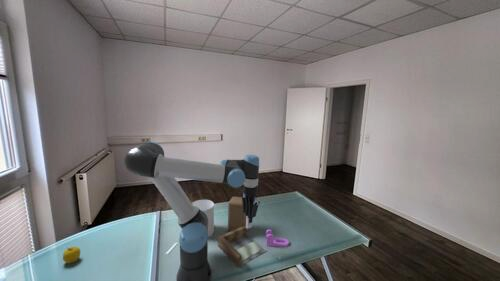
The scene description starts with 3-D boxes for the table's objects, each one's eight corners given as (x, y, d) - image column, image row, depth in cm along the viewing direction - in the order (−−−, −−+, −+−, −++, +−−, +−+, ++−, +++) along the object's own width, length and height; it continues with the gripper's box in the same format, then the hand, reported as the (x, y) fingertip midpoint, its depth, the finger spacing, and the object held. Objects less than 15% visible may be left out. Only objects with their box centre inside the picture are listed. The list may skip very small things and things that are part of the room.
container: (188, 228, 124) (187, 202, 122) (210, 223, 131) (210, 197, 128) (193, 242, 112) (192, 212, 109) (217, 235, 118) (217, 207, 116)
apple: (61, 263, 94) (59, 248, 92) (78, 255, 99) (77, 241, 98) (65, 269, 90) (63, 253, 89) (83, 260, 95) (81, 246, 94)
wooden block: (243, 235, 119) (243, 204, 116) (227, 232, 121) (227, 202, 118) (246, 225, 129) (247, 197, 126) (232, 223, 131) (232, 195, 128)
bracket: (266, 246, 110) (267, 235, 109) (265, 240, 115) (266, 229, 114) (289, 247, 110) (290, 235, 109) (287, 240, 115) (288, 229, 114)
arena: (238, 268, 94) (238, 257, 93) (218, 246, 108) (218, 236, 107) (266, 251, 105) (266, 241, 105) (245, 234, 120) (245, 225, 119)
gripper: (264, 187, 97) (262, 230, 101) (248, 180, 107) (246, 219, 111) (253, 191, 93) (251, 236, 96) (237, 182, 103) (235, 223, 106)
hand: (248, 227), depth 103 cm, fingers closed
